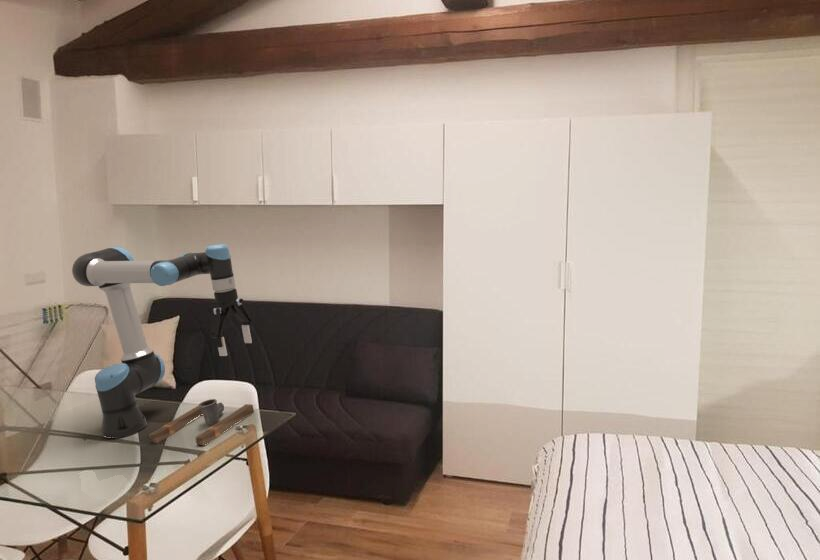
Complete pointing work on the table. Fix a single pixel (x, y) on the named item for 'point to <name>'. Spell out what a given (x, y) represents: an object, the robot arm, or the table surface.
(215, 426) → the guide rails
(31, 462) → the table surface
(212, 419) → the pipe
